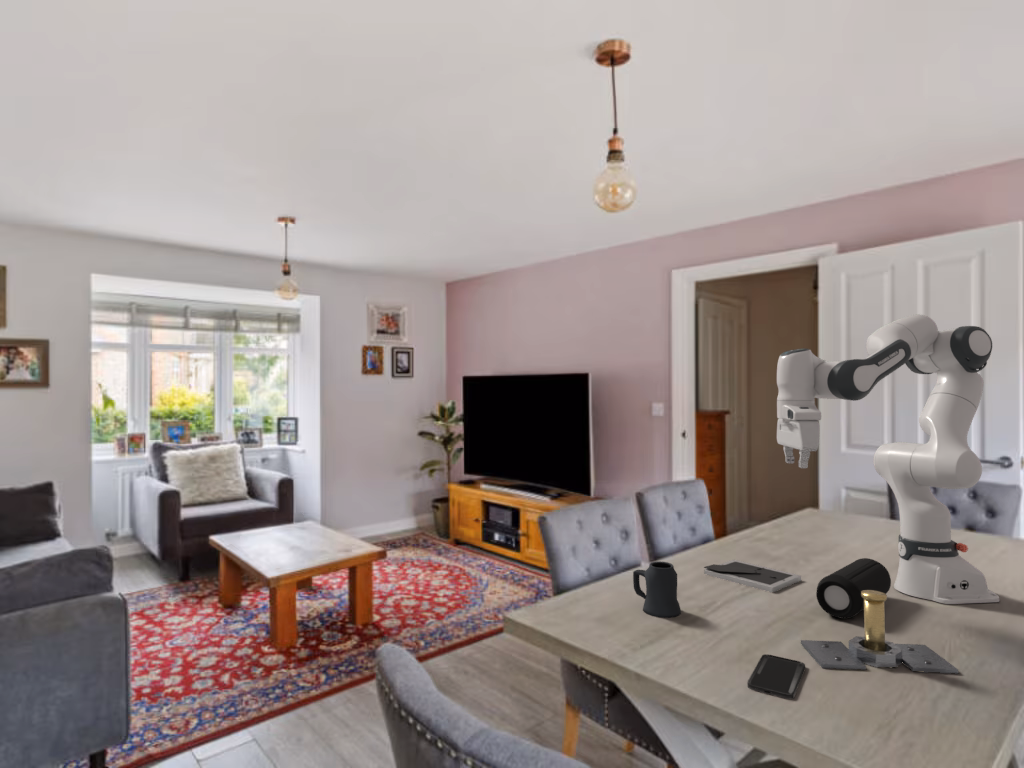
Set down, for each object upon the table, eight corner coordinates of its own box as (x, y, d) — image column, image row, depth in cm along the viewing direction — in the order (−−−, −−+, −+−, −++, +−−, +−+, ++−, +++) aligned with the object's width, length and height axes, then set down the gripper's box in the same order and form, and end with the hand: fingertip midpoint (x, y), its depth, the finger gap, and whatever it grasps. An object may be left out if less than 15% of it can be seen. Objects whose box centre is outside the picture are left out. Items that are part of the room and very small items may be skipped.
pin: (881, 653, 122) (880, 590, 122) (892, 663, 118) (891, 597, 118) (858, 652, 122) (857, 589, 123) (868, 662, 118) (867, 597, 118)
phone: (805, 662, 116) (792, 695, 104) (806, 668, 116) (792, 702, 104) (762, 653, 121) (745, 683, 108) (762, 658, 121) (745, 690, 108)
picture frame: (704, 576, 174) (772, 595, 158) (703, 566, 175) (772, 584, 158) (733, 566, 184) (801, 583, 168) (733, 557, 184) (801, 572, 168)
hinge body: (924, 648, 124) (924, 636, 124) (958, 673, 113) (958, 660, 113) (800, 643, 127) (800, 632, 127) (821, 667, 116) (821, 655, 116)
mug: (687, 610, 147) (687, 564, 147) (669, 621, 140) (669, 572, 140) (644, 598, 155) (643, 555, 155) (625, 608, 148) (624, 562, 148)
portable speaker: (852, 590, 160) (851, 552, 160) (894, 599, 153) (894, 560, 153) (812, 614, 143) (812, 572, 143) (858, 626, 136) (857, 582, 136)
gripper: (770, 410, 165) (770, 460, 165) (796, 413, 145) (797, 470, 145) (794, 410, 164) (794, 460, 164) (824, 413, 144) (825, 470, 144)
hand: (796, 465), depth 154 cm, fingers open, 8 cm apart
